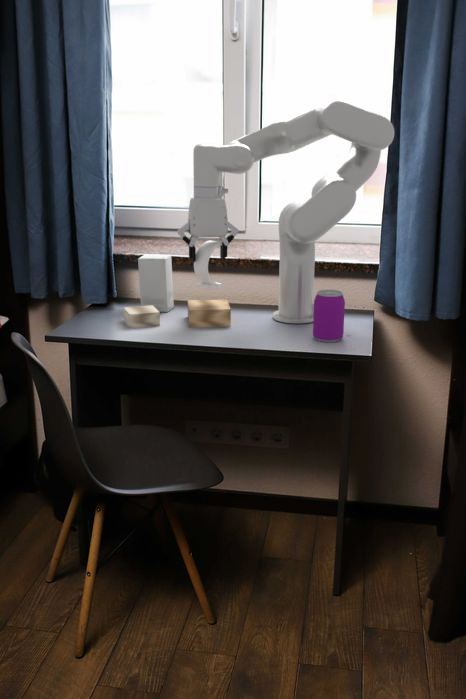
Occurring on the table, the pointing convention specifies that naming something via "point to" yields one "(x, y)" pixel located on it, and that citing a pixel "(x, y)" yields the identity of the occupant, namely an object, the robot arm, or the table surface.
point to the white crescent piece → (205, 265)
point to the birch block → (141, 316)
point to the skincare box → (156, 281)
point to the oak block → (209, 313)
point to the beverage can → (328, 316)
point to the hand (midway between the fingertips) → (208, 260)
